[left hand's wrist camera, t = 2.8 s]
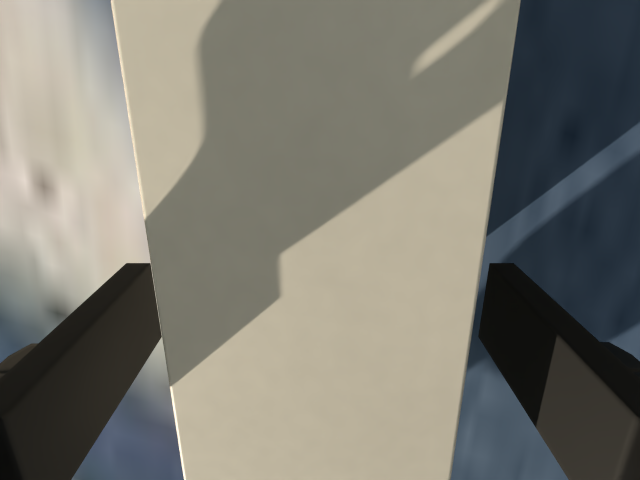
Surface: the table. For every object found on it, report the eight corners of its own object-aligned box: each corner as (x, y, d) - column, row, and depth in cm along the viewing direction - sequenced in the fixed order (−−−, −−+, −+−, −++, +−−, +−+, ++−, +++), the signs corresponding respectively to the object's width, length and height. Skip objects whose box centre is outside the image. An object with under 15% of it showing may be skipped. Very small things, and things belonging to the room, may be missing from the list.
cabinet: (232, -59, 15) (50, -362, 5) (404, -59, 15) (577, -362, 5) (255, 316, 21) (191, 542, 10) (381, 316, 21) (443, 542, 10)
